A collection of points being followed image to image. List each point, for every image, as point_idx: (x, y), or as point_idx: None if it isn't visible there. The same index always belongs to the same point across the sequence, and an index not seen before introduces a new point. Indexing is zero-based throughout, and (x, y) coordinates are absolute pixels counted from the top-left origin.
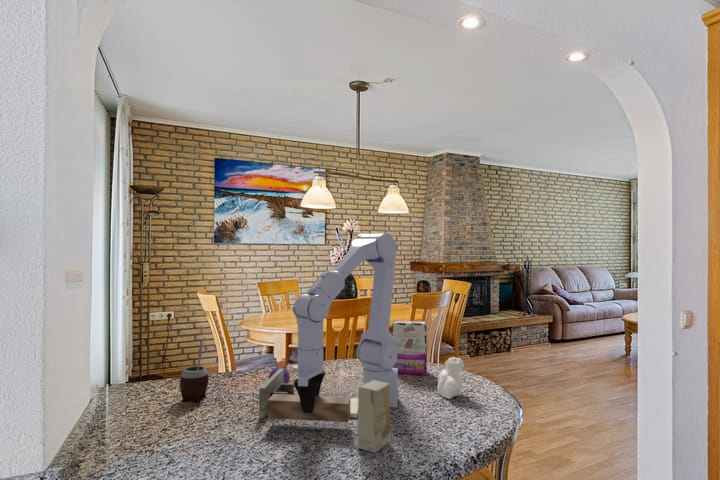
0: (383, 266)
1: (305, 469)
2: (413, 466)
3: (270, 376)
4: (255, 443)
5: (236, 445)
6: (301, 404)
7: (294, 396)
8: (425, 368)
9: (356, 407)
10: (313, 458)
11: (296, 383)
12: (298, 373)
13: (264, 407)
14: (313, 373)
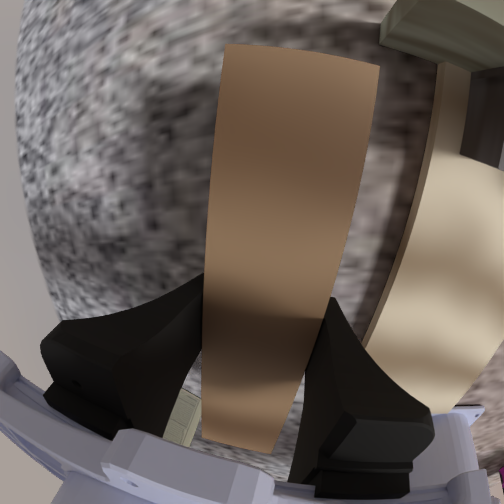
0: None
1: (44, 248)
2: None
3: None
4: (129, 70)
5: (119, 17)
6: (182, 286)
7: (307, 244)
8: (501, 479)
9: None
10: (79, 266)
11: (42, 349)
12: (3, 417)
13: (395, 32)
14: (58, 476)
